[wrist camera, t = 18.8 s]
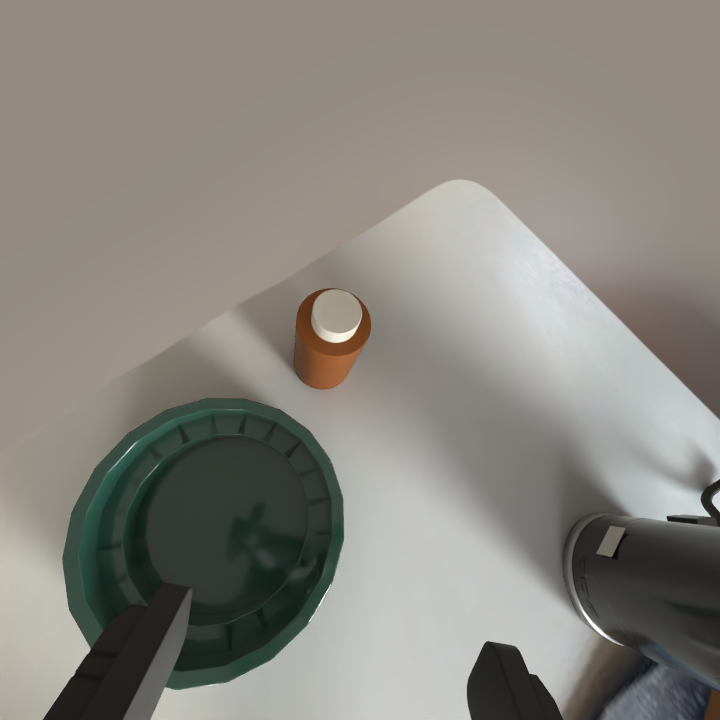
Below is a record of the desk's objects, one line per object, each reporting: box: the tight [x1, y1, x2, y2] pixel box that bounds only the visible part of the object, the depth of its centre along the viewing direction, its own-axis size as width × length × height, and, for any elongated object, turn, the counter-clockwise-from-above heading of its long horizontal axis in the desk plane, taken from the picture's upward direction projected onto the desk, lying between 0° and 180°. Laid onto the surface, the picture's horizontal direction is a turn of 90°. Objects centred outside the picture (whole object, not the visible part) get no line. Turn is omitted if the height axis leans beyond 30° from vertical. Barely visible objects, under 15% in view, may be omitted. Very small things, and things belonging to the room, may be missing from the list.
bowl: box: [62, 398, 344, 690], centre depth 23 cm, size 16×16×4 cm
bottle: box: [294, 288, 371, 389], centre depth 26 cm, size 5×5×10 cm
